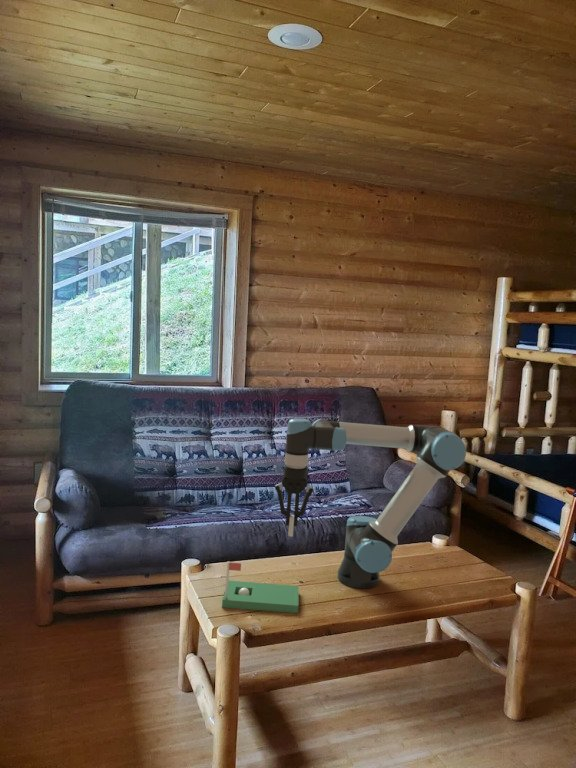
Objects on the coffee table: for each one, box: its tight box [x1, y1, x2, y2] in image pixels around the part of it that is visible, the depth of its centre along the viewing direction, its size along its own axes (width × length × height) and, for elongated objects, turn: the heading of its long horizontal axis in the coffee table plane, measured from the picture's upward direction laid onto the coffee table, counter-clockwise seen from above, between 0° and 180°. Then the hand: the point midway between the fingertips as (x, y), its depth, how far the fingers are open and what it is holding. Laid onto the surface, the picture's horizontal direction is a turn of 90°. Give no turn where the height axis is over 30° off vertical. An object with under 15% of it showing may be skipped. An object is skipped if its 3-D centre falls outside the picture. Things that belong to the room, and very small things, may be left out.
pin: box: [224, 561, 242, 599], centre depth 186 cm, size 4×1×12 cm, turn 89°
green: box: [221, 580, 300, 614], centre depth 192 cm, size 24×14×2 cm, turn 89°
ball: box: [237, 588, 250, 596], centre depth 192 cm, size 4×4×4 cm
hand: (290, 534), depth 196 cm, fingers closed
